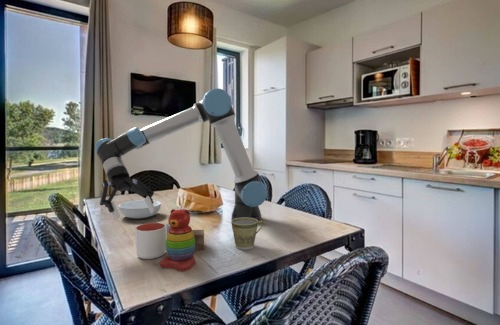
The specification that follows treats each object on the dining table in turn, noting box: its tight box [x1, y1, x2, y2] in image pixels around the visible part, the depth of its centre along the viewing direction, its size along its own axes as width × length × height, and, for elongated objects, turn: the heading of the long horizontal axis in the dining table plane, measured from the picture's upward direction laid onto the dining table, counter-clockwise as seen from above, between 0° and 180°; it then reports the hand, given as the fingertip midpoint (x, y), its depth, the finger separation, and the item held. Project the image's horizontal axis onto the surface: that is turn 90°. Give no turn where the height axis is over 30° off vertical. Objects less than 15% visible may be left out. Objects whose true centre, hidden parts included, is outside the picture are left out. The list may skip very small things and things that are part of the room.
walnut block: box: [192, 229, 205, 252], centre depth 109 cm, size 6×6×6 cm
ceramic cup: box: [231, 217, 265, 251], centre depth 110 cm, size 13×10×10 cm
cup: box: [135, 222, 167, 260], centre depth 103 cm, size 10×10×10 cm
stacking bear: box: [159, 208, 196, 272], centre depth 95 cm, size 11×10×18 cm
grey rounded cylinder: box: [165, 222, 171, 239], centre depth 116 cm, size 6×6×7 cm
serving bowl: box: [118, 199, 162, 220], centre depth 154 cm, size 21×21×7 cm
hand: (136, 215), depth 107 cm, fingers open, 13 cm apart
